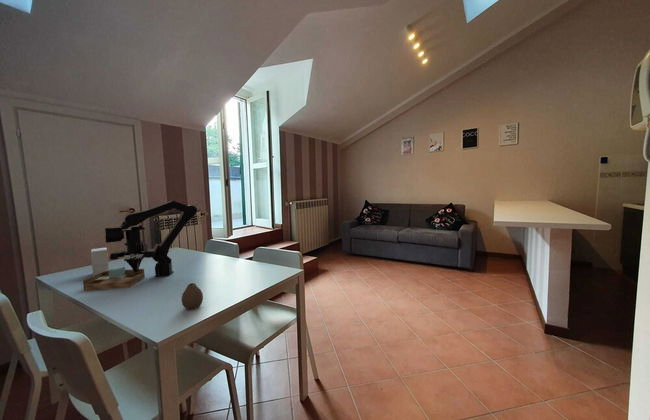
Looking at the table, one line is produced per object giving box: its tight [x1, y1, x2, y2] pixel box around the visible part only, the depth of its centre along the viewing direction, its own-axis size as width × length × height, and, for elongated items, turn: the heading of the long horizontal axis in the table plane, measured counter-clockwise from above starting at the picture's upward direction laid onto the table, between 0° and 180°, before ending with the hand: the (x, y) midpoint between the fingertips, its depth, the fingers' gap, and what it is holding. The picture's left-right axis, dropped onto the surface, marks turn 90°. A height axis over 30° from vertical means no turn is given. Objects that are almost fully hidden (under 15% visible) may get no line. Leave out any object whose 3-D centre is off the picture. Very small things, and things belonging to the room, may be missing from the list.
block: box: [108, 265, 126, 278], centre depth 124 cm, size 4×4×4 cm
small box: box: [90, 247, 110, 276], centre depth 136 cm, size 8×6×13 cm
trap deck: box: [82, 268, 146, 291], centre depth 121 cm, size 18×13×4 cm
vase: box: [181, 282, 204, 311], centre depth 95 cm, size 7×7×9 cm
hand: (136, 271), depth 125 cm, fingers closed
